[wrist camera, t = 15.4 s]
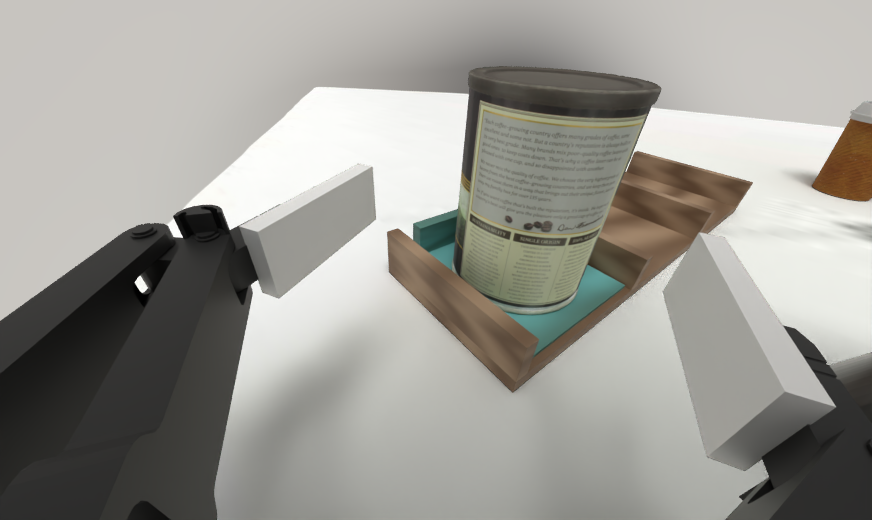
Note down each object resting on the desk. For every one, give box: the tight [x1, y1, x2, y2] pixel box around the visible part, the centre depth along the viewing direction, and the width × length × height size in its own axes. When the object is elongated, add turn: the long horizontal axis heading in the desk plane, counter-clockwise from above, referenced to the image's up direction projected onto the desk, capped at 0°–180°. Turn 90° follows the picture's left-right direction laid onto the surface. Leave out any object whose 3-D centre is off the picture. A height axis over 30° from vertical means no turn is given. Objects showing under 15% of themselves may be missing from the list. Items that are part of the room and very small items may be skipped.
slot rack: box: [387, 151, 753, 392], centre depth 33 cm, size 14×43×4 cm, turn 128°
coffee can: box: [452, 66, 661, 315], centre depth 22 cm, size 10×10×14 cm
